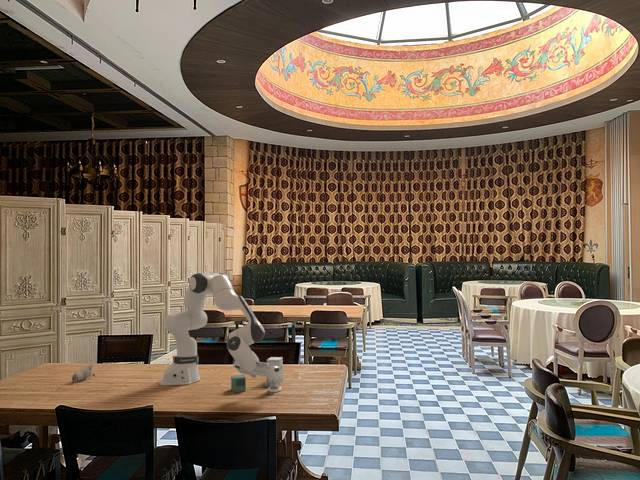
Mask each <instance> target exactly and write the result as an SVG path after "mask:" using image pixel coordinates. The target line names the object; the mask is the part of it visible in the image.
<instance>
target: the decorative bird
mask: <svg viewBox="0 0 640 480" xmlns="http://www.w3.org/2000/svg"><path fill="white" fill-rule="evenodd" d="M94 366H95V365H94V364H91V365H88V366H86V367H84V368H82V369H80V370H78V371H76V372H73V373H74V374H72V377H71V378H72V379H71V381H72V383H73V382H76V383H77V382H80V381H79V380H83V381H85V380H87V379H88V378H90V377H92V376H94V377H96V376H95V375H96V374H95V373H93V367H94ZM91 375H92V376H91ZM89 376H90V377H89ZM84 379H85V380H84Z"/></svg>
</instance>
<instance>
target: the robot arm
mask: <svg viewBox="0 0 640 480" xmlns="http://www.w3.org/2000/svg"><path fill="white" fill-rule="evenodd" d="M208 295H212V298H213V301H214V304H215V305H216V307H217V308H218V309H220V310H222V311H227V312H228V311H230V312H231V311H237V310H238V311H242V313H243V314H244V316H245V318H246V320H247V321H248V322H247V324H245V325H243V326H241V327H239V328H236V329H235V330H233V331H231V332H229V333H228V335H227V337H226V346H227V350H228V352H229V354H230V355H231V356H232V358H233V359H234V362H233V368H235V369H236V370H237V371H238V372H239V373H241V374H242V375H248V376H250V377H252V378H254V379H256V377H257V376H261V377H266V380H267V379H268V380H271V378H272V376H273V375H274V372H275V370H274V369H273V368H272V367H271V366H270V365H269V364H268V363H267V362H263V361H260V359H259V356H257V354H256V353H255V352H254V351H253V350H252V349H251V347H250V346H251V345H252V344H255V343H259V342H260V341H263V339H264V337H265V335H266V331H265V328H264V326H263V325H262V324H261V322H260V321H259V319H258V318H257V316H256V315H255V313H254V312H253V310H252V308H251V307H250V305H249V304H248V302H247V300H246V298H244V296H243V295H238V294H237V293H236V292H235V290H234V287H233V285H232V283H231V279H230V277H229V276H228V275H227V274H225V273H219V272H218V273H217V272H202V273H199V272H198V273H194V274H192V275H191V277H190V278H189V283H188V286H187V289H186V291H185V295H184V297H183V300H182V301H183V306H184V307H185V308H186V310H185V311H183V310H182V311H176V312H172V313H170V314H167V315H166V317H165V319H164V322H163V323H164V325H163V326H164V328H165V330H166V331H168V332H169V333H170V334H171V335H172V336H173V338H174V341H175V344H176V355H173V356H172V364H170V365H169V366H168V367H167V368H165V369H164V372H163V374H162V378H160V379H159V380H158V385H160V386H181V385H183V386H186V385H191V384H192V383H193V384H194V383H196V382H199V381H201V377H200V371H199V367H198V365H199V355H198V343H197V340H196V339H195V338H194V337H192V336H190V333H189V331H193V330H199V329H201V328H203V327H205V326H206V325H207V323H208V315H207V313H206V312H205V311H204V304H205V302H206V298H207V296H208Z"/></svg>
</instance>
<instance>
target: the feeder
mask: <svg viewBox="0 0 640 480" xmlns="http://www.w3.org/2000/svg"><path fill="white" fill-rule="evenodd" d="M246 382H247V381H246V374H236V375H230V386H231V387H230V389H231V393H236V392H237V393H238V392H246V390H247V388H246Z"/></svg>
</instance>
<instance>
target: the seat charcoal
mask: <svg viewBox="0 0 640 480" xmlns="http://www.w3.org/2000/svg"><path fill="white" fill-rule="evenodd" d="M269 387H270V382H267V381H266V382H264V383H263V388H267V389H268V388H269Z"/></svg>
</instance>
